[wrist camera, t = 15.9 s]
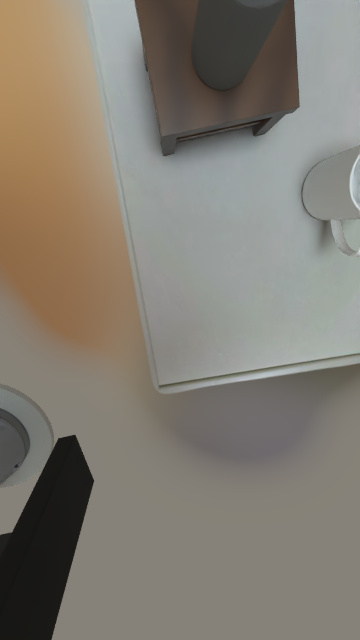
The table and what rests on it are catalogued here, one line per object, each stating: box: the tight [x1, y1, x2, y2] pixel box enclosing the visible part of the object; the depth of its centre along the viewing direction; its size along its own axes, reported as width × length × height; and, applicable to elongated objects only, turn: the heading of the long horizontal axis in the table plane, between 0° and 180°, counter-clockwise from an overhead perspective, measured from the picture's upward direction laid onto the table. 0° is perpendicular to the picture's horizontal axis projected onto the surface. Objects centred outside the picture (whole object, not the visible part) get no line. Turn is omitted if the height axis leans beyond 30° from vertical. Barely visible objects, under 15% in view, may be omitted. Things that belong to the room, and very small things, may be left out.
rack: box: [135, 0, 299, 156], centre depth 30 cm, size 14×11×9 cm
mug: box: [302, 145, 360, 256], centre depth 34 cm, size 12×8×10 cm, turn 0°
